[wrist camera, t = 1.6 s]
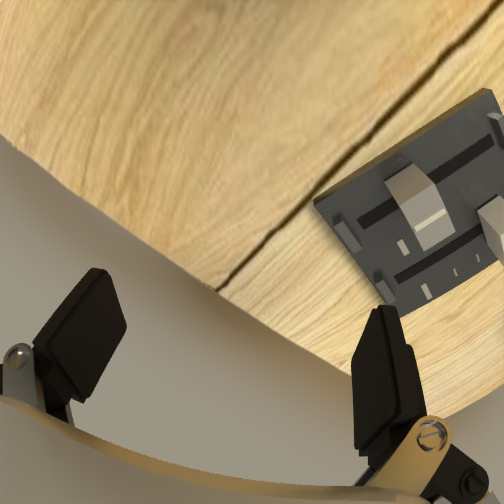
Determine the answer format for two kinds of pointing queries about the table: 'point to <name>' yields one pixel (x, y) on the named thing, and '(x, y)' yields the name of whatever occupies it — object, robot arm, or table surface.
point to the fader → (421, 206)
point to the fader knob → (494, 226)
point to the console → (451, 192)
